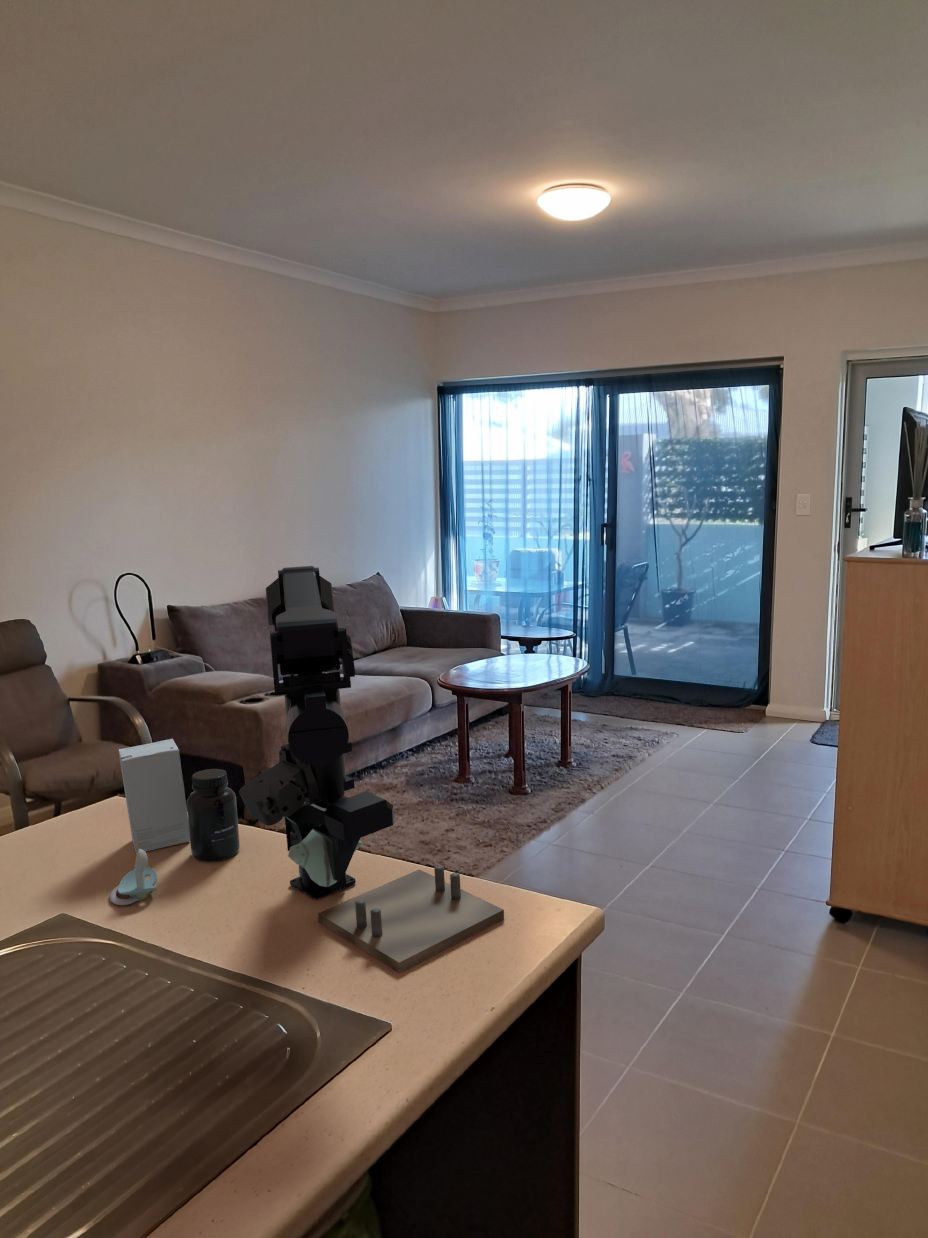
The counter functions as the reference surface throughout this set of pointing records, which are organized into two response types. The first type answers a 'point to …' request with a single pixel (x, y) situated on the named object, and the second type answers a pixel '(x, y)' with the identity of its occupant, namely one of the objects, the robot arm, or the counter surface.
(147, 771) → the skincare box
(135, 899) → the pacifier
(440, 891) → the pin tray
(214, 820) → the supplement bottle
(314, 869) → the grey-green curved shell
